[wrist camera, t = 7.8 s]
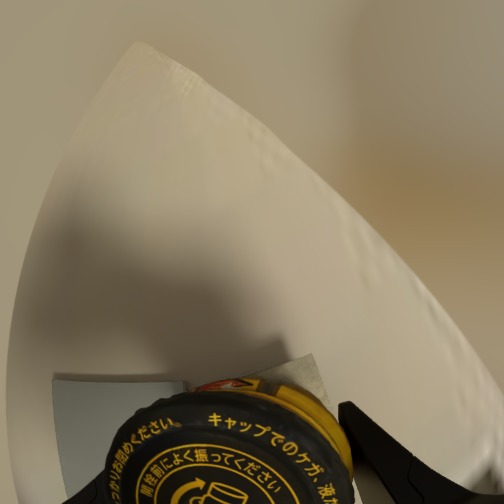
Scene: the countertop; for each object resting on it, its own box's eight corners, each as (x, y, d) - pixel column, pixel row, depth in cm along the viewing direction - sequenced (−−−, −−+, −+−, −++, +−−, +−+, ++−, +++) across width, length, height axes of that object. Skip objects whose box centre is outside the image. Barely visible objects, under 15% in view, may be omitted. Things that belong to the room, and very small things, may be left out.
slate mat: (210, 535, 12) (208, 538, 11) (75, 508, 13) (70, 509, 12) (185, 381, 17) (182, 380, 17) (56, 380, 18) (52, 379, 18)
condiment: (351, 463, 12) (421, 575, 2) (211, 499, 12) (85, 591, 2) (311, 353, 16) (319, 274, 5) (177, 394, 16) (11, 371, 5)
